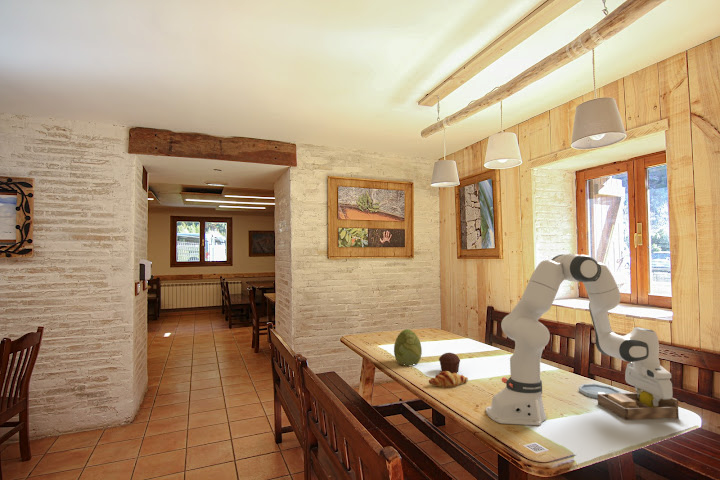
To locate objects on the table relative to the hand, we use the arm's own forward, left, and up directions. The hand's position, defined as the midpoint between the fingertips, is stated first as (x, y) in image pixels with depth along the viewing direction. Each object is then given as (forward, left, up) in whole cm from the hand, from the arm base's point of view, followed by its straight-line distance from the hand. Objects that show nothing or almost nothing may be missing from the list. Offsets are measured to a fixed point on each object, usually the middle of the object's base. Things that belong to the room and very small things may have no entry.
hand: (647, 402), depth 153 cm
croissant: (-72, +36, -4) cm, 81 cm away
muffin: (-66, +56, -3) cm, 87 cm away
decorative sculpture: (-86, +74, -3) cm, 114 cm away
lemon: (0, 0, -3) cm, 3 cm away
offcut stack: (-11, 0, -3) cm, 11 cm away
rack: (-5, 0, -3) cm, 6 cm away
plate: (-7, +19, -3) cm, 20 cm away
